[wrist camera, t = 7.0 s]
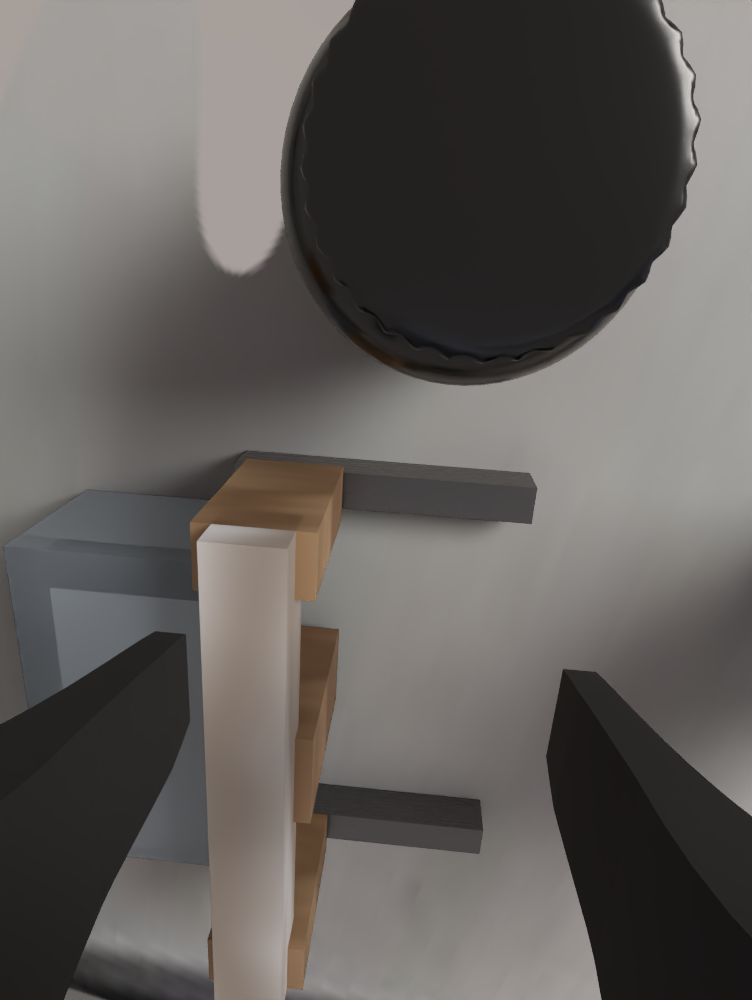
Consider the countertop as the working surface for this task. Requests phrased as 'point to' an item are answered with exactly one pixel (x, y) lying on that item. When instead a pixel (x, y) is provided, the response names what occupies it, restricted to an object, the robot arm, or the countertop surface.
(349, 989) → the countertop surface
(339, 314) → the supplement bottle
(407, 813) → the rail frame
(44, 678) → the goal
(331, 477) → the tan piece
